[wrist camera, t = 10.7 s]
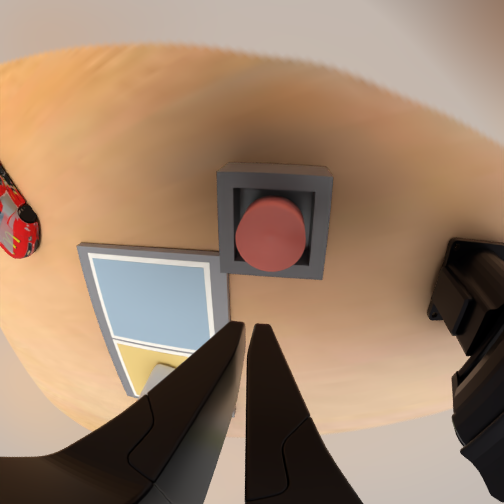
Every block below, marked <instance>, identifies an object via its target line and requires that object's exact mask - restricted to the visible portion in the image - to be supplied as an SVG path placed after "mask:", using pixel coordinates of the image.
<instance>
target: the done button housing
mask: <svg viewBox="0 0 504 504" xmlns="http://www.w3.org/2000/svg"><path fill="white" fill-rule="evenodd" d="M332 187H333V176H332V174H331V173H330V171H329V170H328V168H327V167H322V166H309V165H292V164H272V163H236V162H229V163H228V164H226V165H225V166H224V167H222V168H221V169H220V170H218V171H217V204H218V233H219V256H220V273H229V274H242V275H255V276H269V277H284V278H299V279H315V280H322V278H323V271H324V263H325V255H326V247H327V238H328V229H329V220H330V210H331V199H332ZM269 195H276V196H281V197H284V198H287V199H289V200H290V201H292V202H293V203H294V204H295V205H297V207H298V208H299V209H300V211H301V213H302V215H303V218H304V224H305V237H306V244H305V249H304V252H303V254H302V256H301V257H300V259H299V260H298V261H297V262H296V263H295V264H294V265H292V266H291V267H289V268H287V269H284V270H281V271H275V272H268V271H262V270H259V269H256V268H254V267H252V266H251V265H249V264H248V263H247V262H246V261H245V260H244V259H243V258H242V256H241V255H240V253H239V251H238V249H237V246H236V231H237V228H238V225H239V223H240V221H241V219H242V217H243V215H244V213H245V211H246V209H247V208H248V207H249V205H250V204H251V203H253V202H254V201H255V200H257V199H259V198H261V197H264V196H269Z"/></svg>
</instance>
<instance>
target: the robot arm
mask: <svg viewBox="0 0 504 504" xmlns="http://www.w3.org/2000/svg"><path fill="white" fill-rule="evenodd" d="M455 244H457V246H456V247H455V248H454V245H455ZM431 299H432V301H431V304H430V307H429V309H428V312H427V315H428V317H429V319H430V320H444V322H445V324H446V326H447V327H448V329H449V331H450V333H451V335H452V336H456V337H457V339H458V341H459V343H460V345H461V347H462V348H463V350H464V352H465V354H466V356H471V357H470V358H469V359H468V360H467V362H466V363H465V364H464V365H463V367H462V368H461V369H460V370H459V371H457V372H456V373H455V374H454V375H453V376H452V391H453V411H454V414H453V415H452V422H453V425H454V429H455V432H456V435H457V437H458V439H459V441H460V443H461V444H462V445H463V448H462V449H461V450H460V453H461V454H462V455H463V456H464V457H465V458H467V459H468V460H469V461H471V462H472V463H473V465H474V466H475V467H476V468H477V470H478V471H479V472H480V474H481V476H482V478H483V480H484V482H485V484H486V486H487V488H488V490H489V493H490V494H491V496H493V497H494V498H496V499H498V500H499V501H501V502H504V243H496V242H488V241H479V240H471V239H462V238H453V239H451V241H450V242H449V244H448V248H447V252H446V256H445V259H444V263H443V266H442V268H441V270H440V273H439V276H438V280H437V283H436V286H435V289H434V292H433V295H432V298H431ZM433 313H435V314H433ZM432 314H433V315H432ZM245 346H246V341H245V323H244V322H237V321H230V322H228V323H227V324H226V325H225V326H224V327H222V328H221V329H220V330H219V331H218V332H217V333H216V334H215V335H213V336H212V337H211V338H210V339H209V340H208V341H207V342H206V343H204V344H203V345H202V346H201V347H200V348H199V349H198V350H196V351H195V352H194V353H193V354H192V355H191V356H189V357H188V358H187V359H186V360H185V361H184V362H183V363H181V364H180V365H179V366H178V367H177V368H176V369H174V370H173V371H172V372H171V373H170V374H169V375H167V376H166V377H165V378H164V379H163V380H162V381H160V382H159V383H158V384H157V385H156V386H154V387H153V388H152V389H151V390H150V391H148V392H147V394H145V395H143V396H142V397H141V398H140V399H139V400H137V401H136V402H135V403H134V404H132V405H131V406H130V407H129V408H127V409H126V410H125V411H123V412H122V413H121V414H119V415H118V416H116V417H115V418H113V419H112V420H110V421H109V422H107V423H106V424H104V425H103V426H101V427H100V428H98V429H96V430H95V431H93V432H91V433H90V434H88V435H86V436H85V437H83V438H82V439H80V440H78V441H76V442H75V443H73V444H71V445H70V446H68V447H66V448H64V449H62V450H60V451H58V452H55V453H53V454H49V455H45V456H39V457H0V504H203V502H204V500H205V497H206V494H207V491H208V488H209V485H210V482H211V479H212V476H213V473H214V470H215V467H216V464H217V461H218V458H219V455H220V452H221V449H222V446H223V443H224V440H225V437H226V434H227V430H228V427H229V424H230V421H231V418H232V415H233V411H234V408H235V405H236V401H237V397H238V392H239V386H240V380H241V374H242V368H243V361H244V355H245ZM245 451H246V453H245V504H363V503H362V501H361V500H360V498H359V497H358V495H357V494H356V492H355V491H354V490H353V488H352V487H351V485H350V484H349V483H348V481H347V479H346V478H345V476H344V475H343V473H342V472H341V470H340V469H339V468H338V466H337V465H336V463H335V461H334V460H333V458H332V456H331V455H330V453H329V451H328V450H327V448H326V447H325V444H324V442H323V440H322V439H321V436H320V434H319V432H318V430H317V428H316V426H315V424H314V422H313V419H312V418H311V417H310V413H309V411H308V409H307V406H306V404H305V402H304V400H303V397H302V395H301V393H300V391H299V388H298V386H297V384H296V382H295V379H294V377H293V375H292V373H291V370H290V368H289V366H288V364H287V361H286V359H285V357H284V355H283V352H282V350H281V348H280V345H279V343H278V341H277V339H276V336H275V334H274V332H273V329H272V327H271V326H270V325H269V324H259V323H257V324H255V326H254V329H253V333H252V337H251V341H250V345H249V349H248V354H247V382H246V449H245Z"/></svg>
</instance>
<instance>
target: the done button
mask: <svg viewBox="0 0 504 504" xmlns="http://www.w3.org/2000/svg"><path fill="white" fill-rule="evenodd" d="M305 244H306V237H305V224H304V218H303V215H302V213H301V211H300V209H299V208H298V207H297V205H295V204H294V203H293V202H292V201H290V200H289V199H287V198H284V197H281V196H276V195H269V196H264V197H261V198H259V199H257V200H255V201H254V202H253V203H251V204H250V205H249V207H248V208H247V209H246V211H245V213H244V215H243V217H242V219H241V221H240V223H239V225H238V228H237V231H236V246H237V249H238V251H239V253H240V255H241V256H242V258H243V259H244V260H245V261H246V262H247V263H248V264H249V265H251V266H252V267H254V268H256V269H259V270H262V271H268V272H275V271H281V270H284V269H287V268H289V267H291V266H292V265H294V264H295V263H296V262H297V261H298V260H299V259H300V257H301V256H302V254H303V252H304V249H305Z"/></svg>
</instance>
